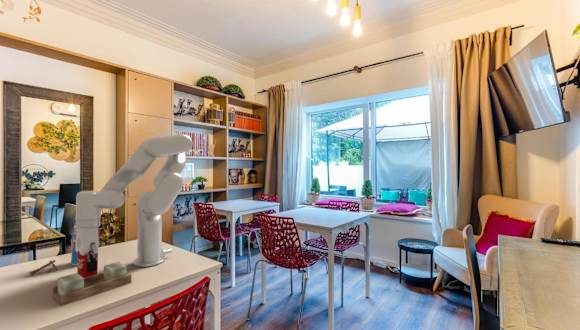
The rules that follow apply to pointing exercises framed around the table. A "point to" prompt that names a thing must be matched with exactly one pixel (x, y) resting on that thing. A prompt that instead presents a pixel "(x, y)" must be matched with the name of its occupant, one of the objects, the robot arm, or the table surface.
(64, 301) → the rail
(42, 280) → the table surface
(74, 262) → the beverage bottle
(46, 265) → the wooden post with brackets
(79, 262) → the beverage can
